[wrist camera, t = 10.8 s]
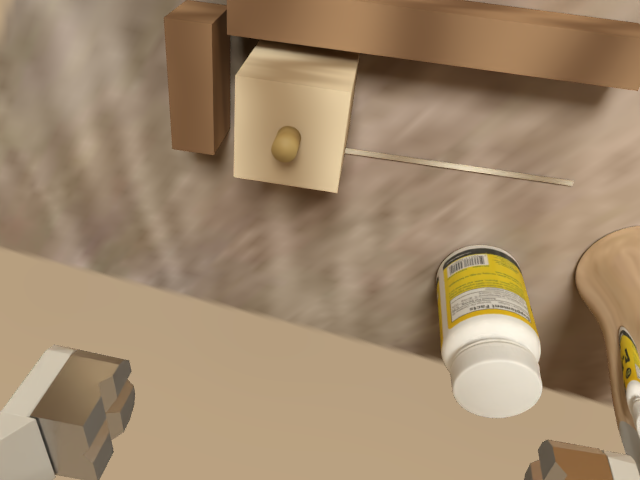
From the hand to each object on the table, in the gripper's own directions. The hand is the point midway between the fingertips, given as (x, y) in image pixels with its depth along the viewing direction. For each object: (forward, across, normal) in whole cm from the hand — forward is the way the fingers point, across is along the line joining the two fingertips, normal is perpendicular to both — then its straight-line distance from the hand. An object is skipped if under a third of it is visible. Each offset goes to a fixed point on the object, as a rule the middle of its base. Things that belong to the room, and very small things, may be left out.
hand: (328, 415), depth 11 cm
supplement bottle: (+20, -7, +11) cm, 23 cm away
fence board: (+19, 0, 0) cm, 19 cm away
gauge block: (+19, +4, +1) cm, 20 cm away
